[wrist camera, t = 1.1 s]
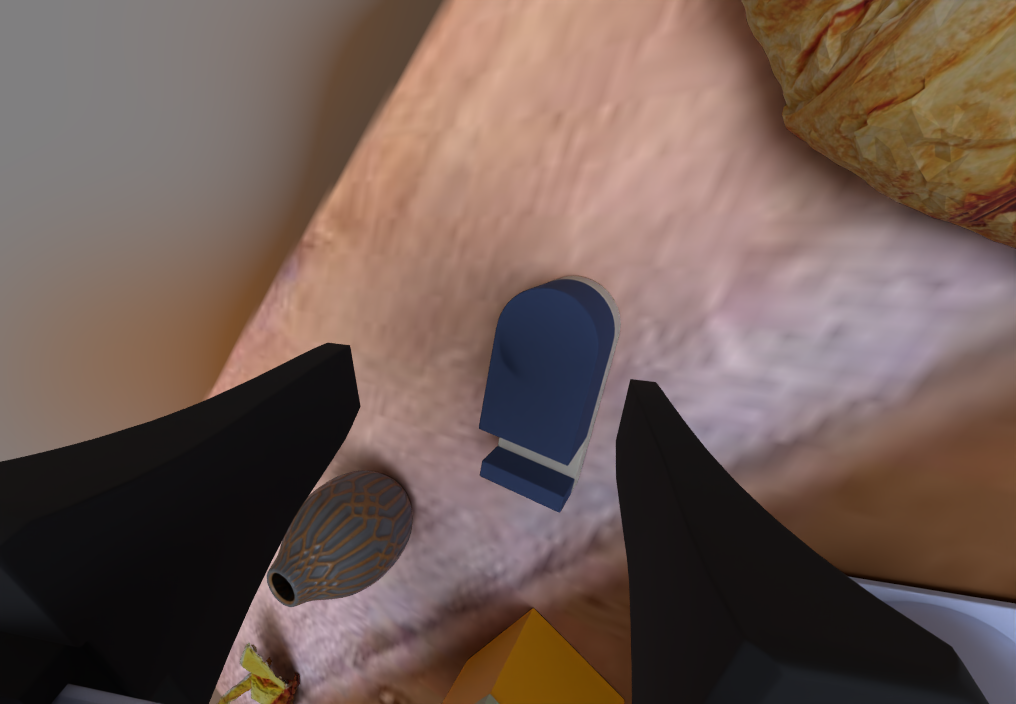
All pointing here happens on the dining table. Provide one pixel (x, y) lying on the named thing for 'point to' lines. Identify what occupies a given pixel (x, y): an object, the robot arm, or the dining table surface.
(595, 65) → the dining table surface
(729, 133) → the dining table surface
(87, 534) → the robot arm
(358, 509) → the vase
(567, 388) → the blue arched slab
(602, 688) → the orange juice
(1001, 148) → the croissant
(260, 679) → the origami crane
